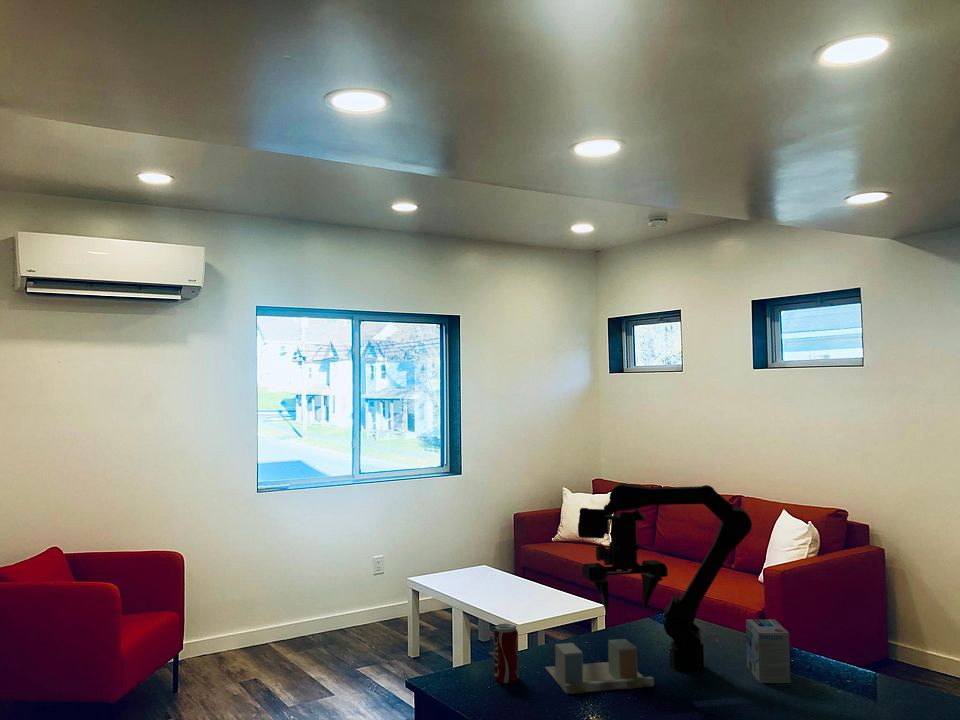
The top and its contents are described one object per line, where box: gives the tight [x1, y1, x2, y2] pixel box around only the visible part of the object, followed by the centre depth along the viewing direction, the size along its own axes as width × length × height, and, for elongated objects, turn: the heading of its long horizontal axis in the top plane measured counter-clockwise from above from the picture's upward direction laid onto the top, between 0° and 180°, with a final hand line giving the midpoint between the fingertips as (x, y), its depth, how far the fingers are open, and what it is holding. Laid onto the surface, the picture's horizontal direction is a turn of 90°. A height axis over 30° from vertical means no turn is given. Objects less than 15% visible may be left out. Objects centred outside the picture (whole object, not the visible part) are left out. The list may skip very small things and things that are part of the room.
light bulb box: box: [745, 618, 791, 684], centre depth 167 cm, size 11×7×11 cm, turn 175°
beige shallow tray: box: [544, 661, 655, 694], centre depth 165 cm, size 19×16×2 cm
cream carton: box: [554, 642, 584, 688], centre depth 161 cm, size 4×7×7 cm, turn 11°
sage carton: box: [607, 638, 638, 679], centre depth 164 cm, size 4×7×7 cm, turn 11°
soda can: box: [493, 623, 519, 684], centre depth 164 cm, size 5×5×12 cm
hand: (625, 608), depth 174 cm, fingers open, 9 cm apart
